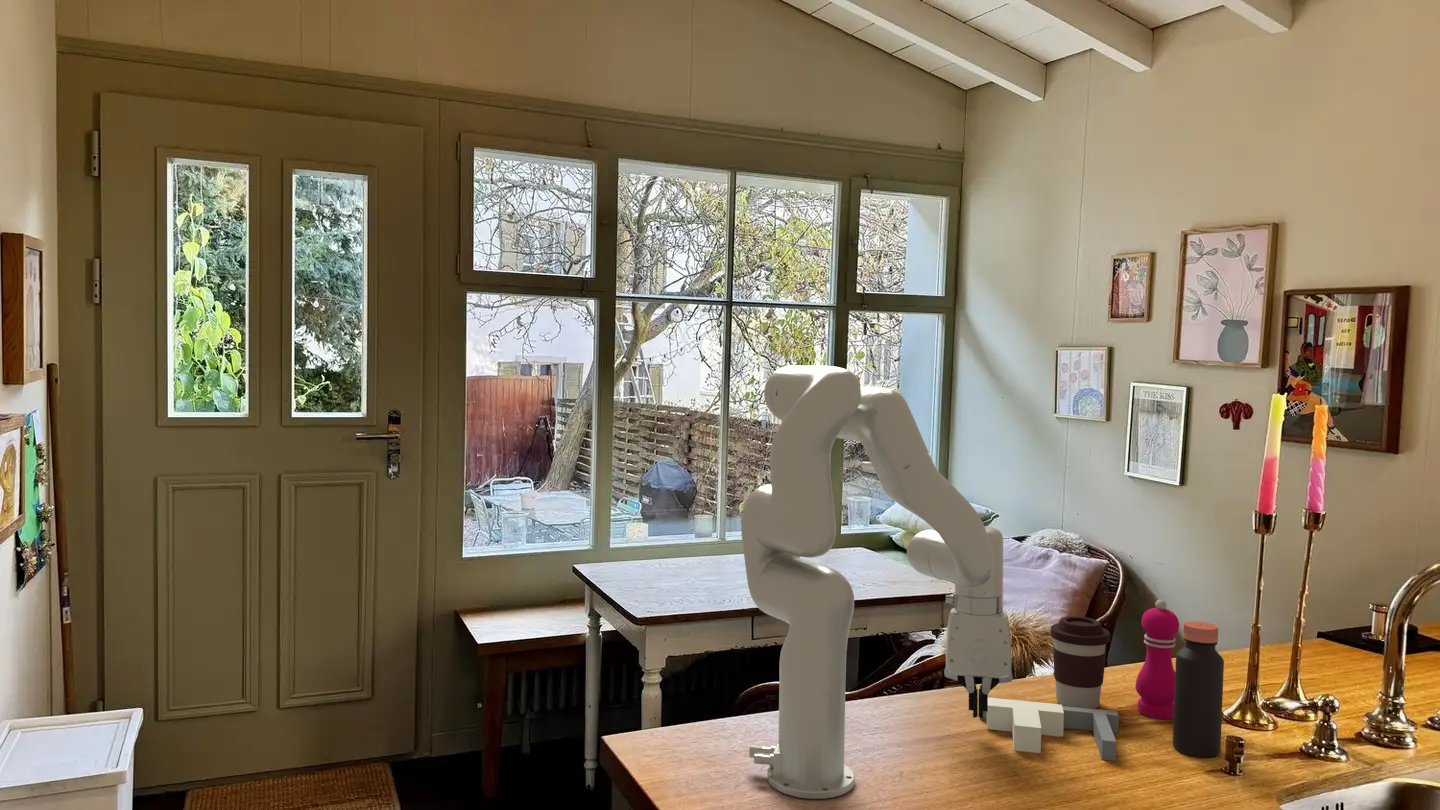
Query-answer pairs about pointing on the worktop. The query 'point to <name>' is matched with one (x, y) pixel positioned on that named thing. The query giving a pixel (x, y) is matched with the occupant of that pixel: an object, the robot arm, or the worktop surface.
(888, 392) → the robot arm
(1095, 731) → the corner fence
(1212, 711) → the bottle
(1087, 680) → the coffee cup
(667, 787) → the worktop surface
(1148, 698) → the pepper mill
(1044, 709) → the t block
